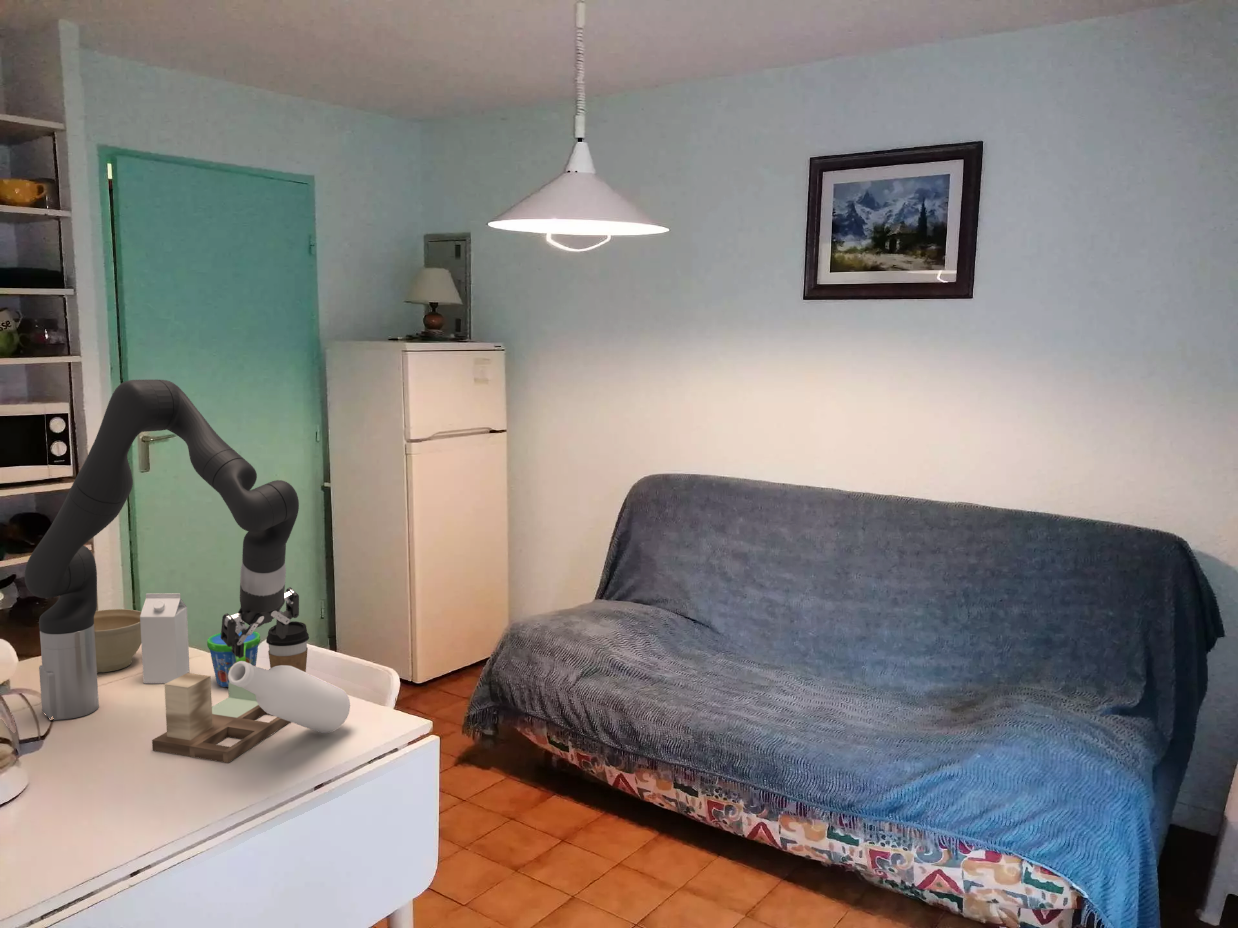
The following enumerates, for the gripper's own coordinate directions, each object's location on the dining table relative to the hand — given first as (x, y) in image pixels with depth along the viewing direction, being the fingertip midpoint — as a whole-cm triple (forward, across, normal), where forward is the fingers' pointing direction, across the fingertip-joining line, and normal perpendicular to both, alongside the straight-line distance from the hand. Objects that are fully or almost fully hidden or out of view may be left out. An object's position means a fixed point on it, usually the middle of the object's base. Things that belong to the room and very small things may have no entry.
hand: (259, 645), depth 175 cm
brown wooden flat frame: (+18, +7, +2) cm, 19 cm away
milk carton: (+34, +3, -30) cm, 45 cm away
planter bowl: (+40, +8, -45) cm, 61 cm away
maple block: (+15, +13, 0) cm, 20 cm away
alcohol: (+11, -8, +13) cm, 19 cm away
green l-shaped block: (+21, +3, -4) cm, 21 cm away
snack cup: (+30, -6, -18) cm, 35 cm away
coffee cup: (+24, -10, -4) cm, 26 cm away
